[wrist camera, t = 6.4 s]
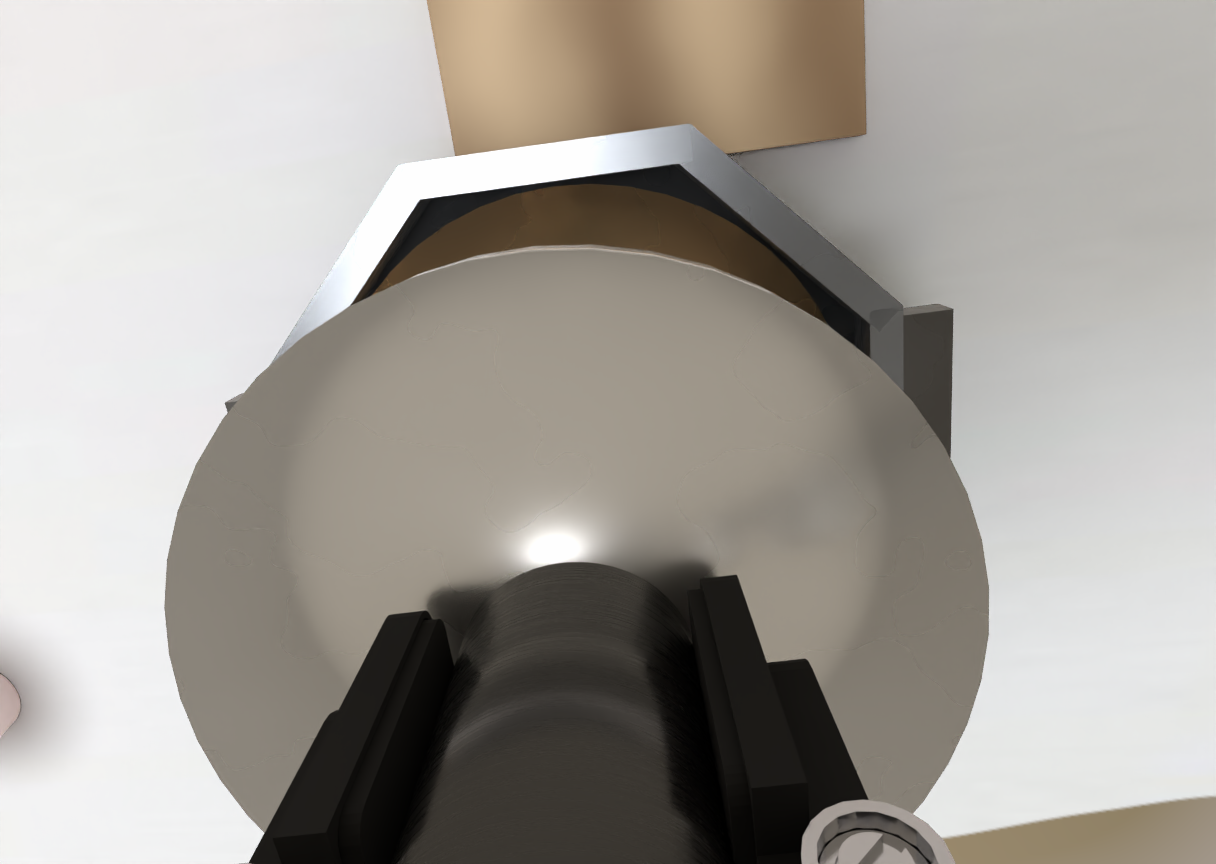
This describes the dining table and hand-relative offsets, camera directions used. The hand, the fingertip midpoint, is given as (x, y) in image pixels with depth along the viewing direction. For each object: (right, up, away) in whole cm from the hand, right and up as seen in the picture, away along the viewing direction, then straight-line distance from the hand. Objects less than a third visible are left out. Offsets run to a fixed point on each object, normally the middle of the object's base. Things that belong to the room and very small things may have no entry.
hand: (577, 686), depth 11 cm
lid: (0, 0, +1) cm, 1 cm away
